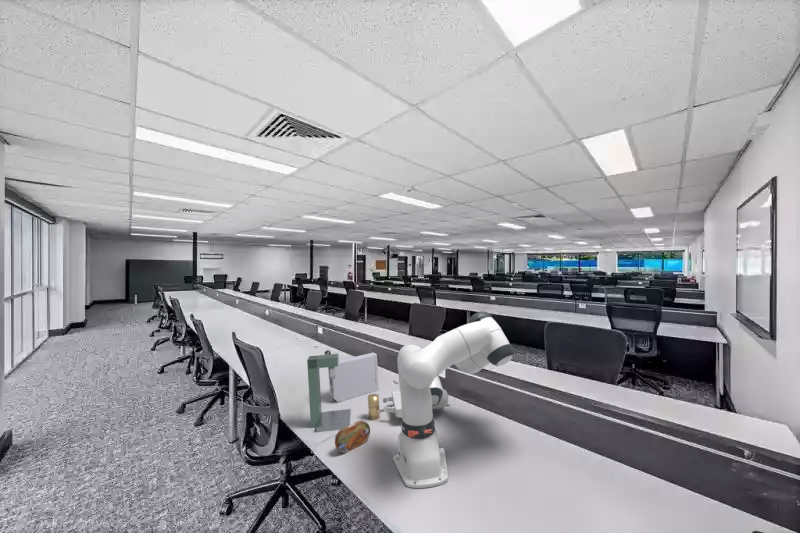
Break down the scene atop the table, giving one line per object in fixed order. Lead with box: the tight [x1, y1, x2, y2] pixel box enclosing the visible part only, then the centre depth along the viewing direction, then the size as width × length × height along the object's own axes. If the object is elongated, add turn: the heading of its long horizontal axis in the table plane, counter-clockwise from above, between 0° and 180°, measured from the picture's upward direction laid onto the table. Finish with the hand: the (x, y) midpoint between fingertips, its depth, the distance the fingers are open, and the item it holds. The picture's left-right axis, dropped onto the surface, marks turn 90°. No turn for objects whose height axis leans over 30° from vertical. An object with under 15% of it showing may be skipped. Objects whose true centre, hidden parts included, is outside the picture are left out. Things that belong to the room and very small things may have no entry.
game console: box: [328, 352, 380, 403], centre depth 169 cm, size 6×27×20 cm, turn 124°
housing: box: [367, 393, 381, 421], centre depth 142 cm, size 5×5×10 cm
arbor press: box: [306, 350, 352, 433], centre depth 143 cm, size 21×17×30 cm
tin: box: [334, 420, 371, 454], centre depth 120 cm, size 15×3×8 cm, turn 132°
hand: (383, 404), depth 143 cm, fingers open, 8 cm apart
